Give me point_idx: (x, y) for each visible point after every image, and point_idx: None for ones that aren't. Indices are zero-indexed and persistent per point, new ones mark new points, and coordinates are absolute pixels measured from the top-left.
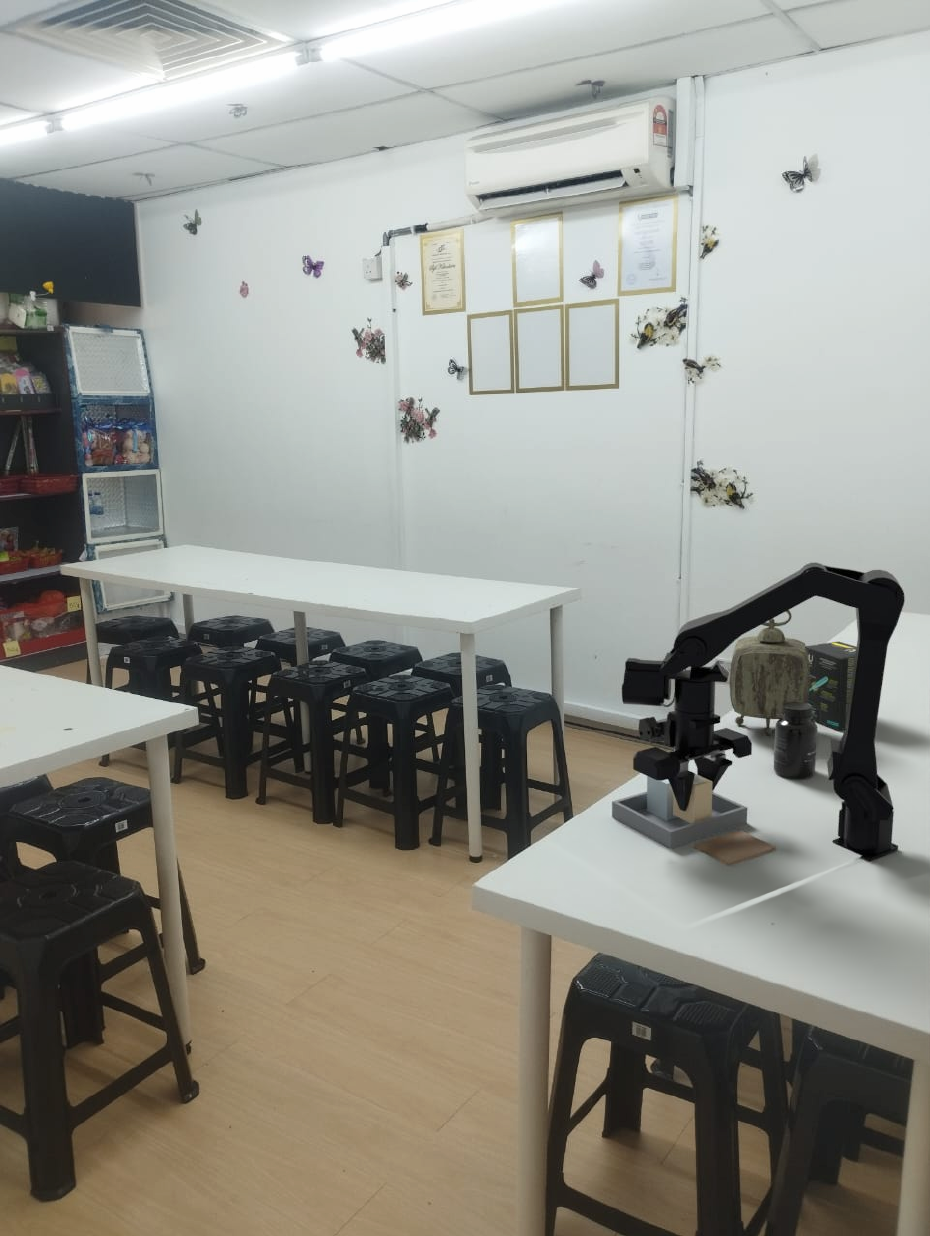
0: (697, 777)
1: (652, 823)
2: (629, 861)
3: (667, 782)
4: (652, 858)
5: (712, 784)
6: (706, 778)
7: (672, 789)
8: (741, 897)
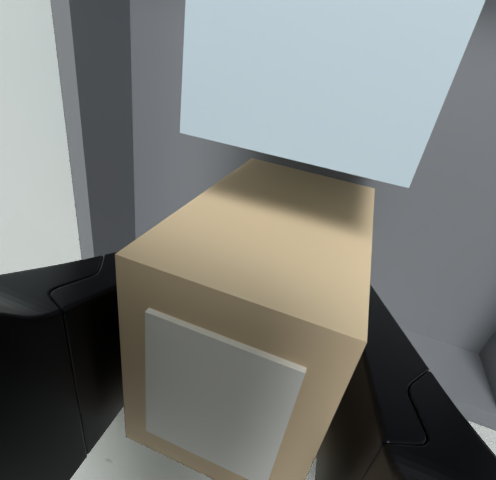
0: (261, 431)
1: (74, 181)
2: (16, 185)
3: (205, 112)
4: (72, 223)
5: (317, 476)
6: (329, 471)
7: (104, 257)
8: (122, 419)
